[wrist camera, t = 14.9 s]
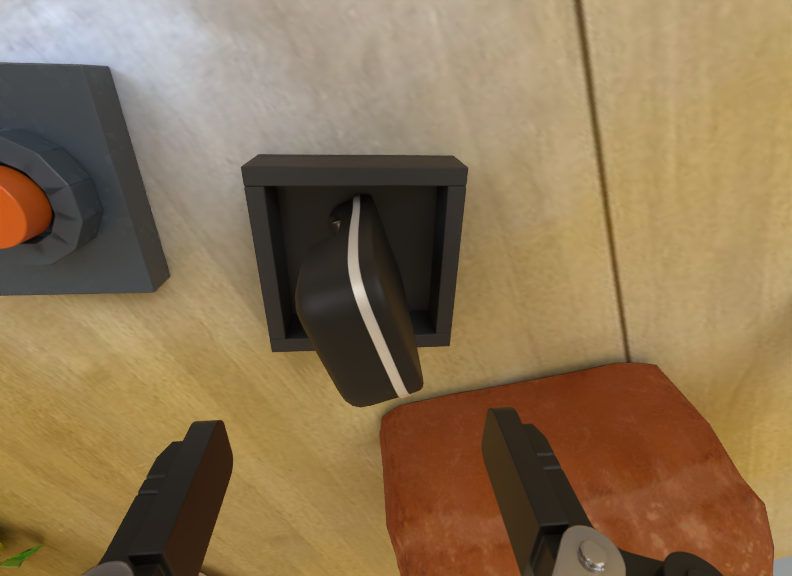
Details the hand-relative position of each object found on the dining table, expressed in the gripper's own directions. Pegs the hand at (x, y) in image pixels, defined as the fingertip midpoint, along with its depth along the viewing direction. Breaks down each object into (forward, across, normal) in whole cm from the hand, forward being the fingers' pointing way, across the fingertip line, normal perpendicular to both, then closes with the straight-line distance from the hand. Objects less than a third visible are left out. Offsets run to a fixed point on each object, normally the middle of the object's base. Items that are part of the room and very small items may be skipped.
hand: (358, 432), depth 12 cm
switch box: (+15, +17, -4) cm, 23 cm away
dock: (+15, 0, 0) cm, 15 cm away
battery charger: (+15, 0, 0) cm, 15 cm away
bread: (+15, -14, +20) cm, 29 cm away
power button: (+12, +17, -4) cm, 21 cm away
